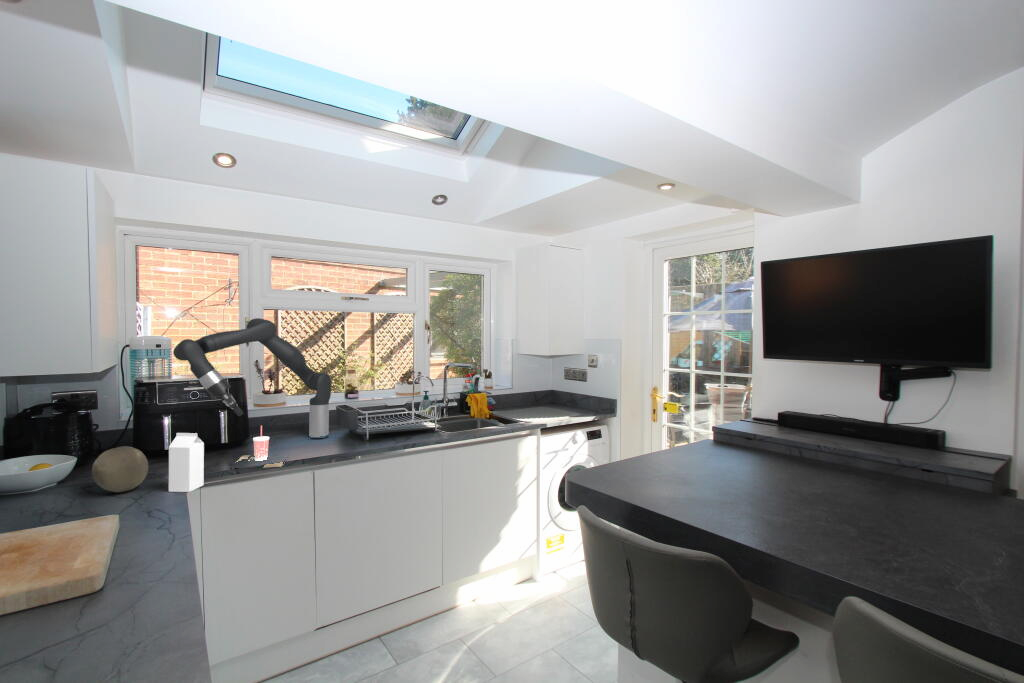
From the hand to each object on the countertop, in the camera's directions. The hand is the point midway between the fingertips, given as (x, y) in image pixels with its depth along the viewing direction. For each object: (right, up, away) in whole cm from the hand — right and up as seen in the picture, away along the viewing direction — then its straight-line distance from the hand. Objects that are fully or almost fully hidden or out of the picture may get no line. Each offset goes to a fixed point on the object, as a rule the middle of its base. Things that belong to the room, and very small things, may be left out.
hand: (240, 414), depth 195 cm
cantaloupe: (-18, -20, -38) cm, 47 cm away
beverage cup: (+8, -19, +1) cm, 20 cm away
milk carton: (+1, -20, -34) cm, 40 cm away
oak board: (+8, -20, +1) cm, 21 cm away
